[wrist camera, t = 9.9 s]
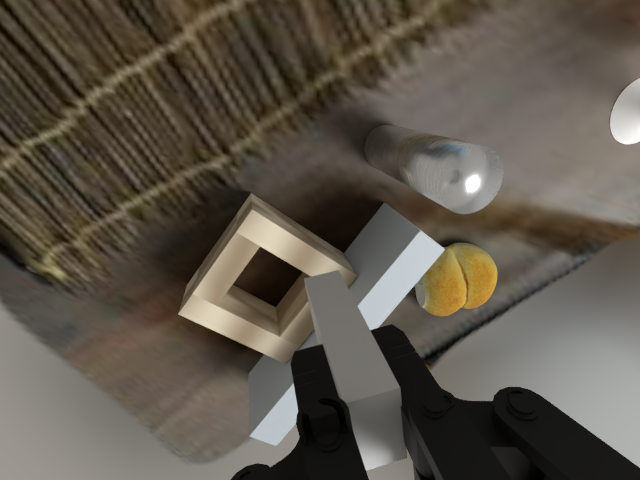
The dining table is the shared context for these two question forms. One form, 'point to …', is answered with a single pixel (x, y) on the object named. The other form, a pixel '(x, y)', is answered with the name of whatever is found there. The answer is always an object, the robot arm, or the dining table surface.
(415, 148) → the metal peg
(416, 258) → the wall
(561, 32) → the dining table surface
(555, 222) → the dining table surface
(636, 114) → the champagne flute
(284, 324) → the square wooden frame
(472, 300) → the bread roll
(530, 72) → the dining table surface
